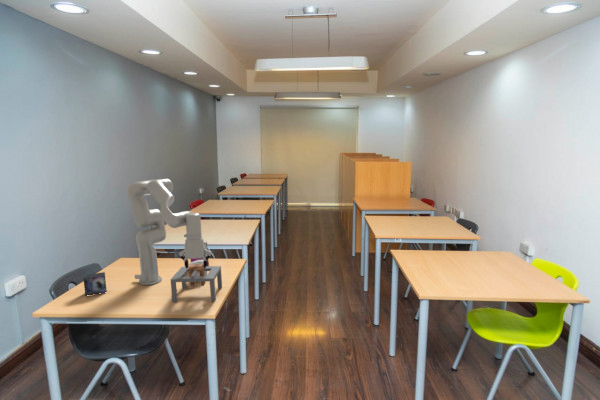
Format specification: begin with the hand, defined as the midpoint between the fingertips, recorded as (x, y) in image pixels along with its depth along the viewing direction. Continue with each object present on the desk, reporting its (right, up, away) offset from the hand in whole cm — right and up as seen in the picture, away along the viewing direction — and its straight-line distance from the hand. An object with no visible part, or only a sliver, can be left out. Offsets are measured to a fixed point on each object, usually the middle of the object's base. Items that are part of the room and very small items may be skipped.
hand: (196, 267), depth 205 cm
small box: (-57, -16, +7) cm, 60 cm away
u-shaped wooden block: (+1, -10, +2) cm, 10 cm away
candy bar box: (-11, -8, +48) cm, 50 cm away
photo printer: (-5, -12, +23) cm, 26 cm away
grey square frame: (+1, -15, +2) cm, 15 cm away
